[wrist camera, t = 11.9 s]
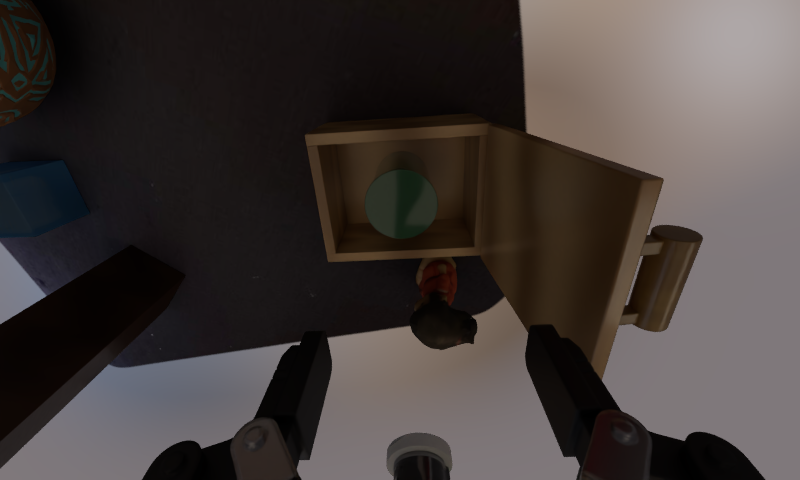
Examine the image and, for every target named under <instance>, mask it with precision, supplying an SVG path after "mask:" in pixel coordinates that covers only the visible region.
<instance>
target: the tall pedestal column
mask: <svg viewBox="0 0 800 480" xmlns="http://www.w3.org/2000/svg"><path fill="white" fill-rule="evenodd" d="M184 277H185V275H184V274H182V273H180V272H179V271H177V270H175V269H173V268H171V267H170V266H168V265H166V264H164V263H162V262H161V261H159V260H157V259H155V258H153V257H152V256H150V255H148V254H146V253H144V252H143V251H141V250H139V249H137V248H135V247H134V246H132V245H130V246H129V247H127V248H125V249H124V250H122V251H120V252H119V253H117V254H115V255H114V256H112V257H110V258H109V259H107V260H106V261H104V262H102V263H101V264H99V265H97V266H96V267H94V268H92V269H91V270H89V271H87V272H86V273H84V274H82V275H81V276H79V277H78V278H76V279H74V280H73V281H71V282H69V283H68V284H66V285H64V286H63V287H61V288H59V289H58V290H56V291H54V292H53V293H51V294H50V295H48V296H46V297H45V298H43V299H41V300H40V301H38V302H36V303H35V304H33V305H31V306H30V307H28V308H26V309H25V310H23V311H22V312H20V313H18V314H17V315H15V316H13V317H12V318H10V319H9V320H7V321H5V322H3V323H2V324H0V468H1V467H2V466H3V465H5V463H7V462H8V461H9V460H10V459H11V458H12V457H13V456H14V455H15V454H16V453H17V452H18V451H19V450H20V449H21V448H22V447H23V446H24V445H25V444H26V443H27V442H28V441H29V440H30V439H32V438H33V437H34V435H36V434H37V433H38V432H39V431H40V430H41V429H42V428H43V427H44V426H45V425H46V424H47V423H48V422H49V421H50V420H51V419H52V418H53V417H54V416H55V415H56V414H57V413H59V412H60V411H61V410H62V409H63V408H64V407H65V406H66V405H67V404H68V403H69V402H70V401H71V400H72V399H73V398H74V397H75V396H76V395H77V394H78V393H79V392H80V391H81V390H82V389H83V388H85V387H86V386H87V385H88V384H89V383H90V382H91V381H92V380H93V379H94V378H95V377H96V376H97V375H98V374H99V373H100V372H101V371H102V370H103V369H104V368H105V367H106V366H107V365H108V364H109V363H110V362H112V361H113V360H114V359H115V358H116V357H117V356H118V355H119V354H120V353H121V352H122V351H123V350H124V349H125V348H126V347H127V346H128V345H129V344H130V343H131V342H132V341H133V340H134V339H135V338H136V337H138V336H139V335H140V334H141V333H142V332H143V331H144V330H145V329H146V328H147V327H148V326H149V325H150V324H151V323H152V322H153V321H154V320H155V319H156V318H157V317H158V316H159V315H160V314H161V313H162V312H163V311H165V310H166V308H167V306H168V305H169V303H170V301H171V300H172V298H173V296H174V295H175V293H176V291H177V289H178V288H179V286H180V284H181V283H182V281H183V279H184Z"/></svg>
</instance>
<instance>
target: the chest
mask: <svg viewBox="0 0 800 480" xmlns="http://www.w3.org/2000/svg"><path fill="white" fill-rule="evenodd" d="M489 124H492V123H490V122H488V121H487V120H485V119H483V118H481V117H479V116H477V115H475V114H473V113H469V114H453V115H438V116H422V117H406V118H390V119H375V120H359V121H343V122H327V123H325V124H323V125H321V126H319V127H318V128H316V129H314V130H312V131H310V132H309V133H307V134H305V140H306V145H307V150H308V156H309V161H310V167H311V172H312V177H313V183H314V188H315V193H316V199H317V204H318V210H319V215H320V220H321V226H322V231H323V237H324V242H325V247H326V253H327V258H328V262H341V261H363V260H385V259H407V258H430V257H452V256H474V255H481V246H482V229H483V212H484V195H485V178H486V160H487V143H488V126H489ZM398 151H407V152H411V153H413V154H415V155H417V156H418V157H420V158H421V159H422V160H423V162H424V163H425V165H426V167H427V170H428V173H429V178H430V182H431V183H432V185H433V186H434V188H435V191H436V194H437V198H438V210H437V214H436V217H435V219H434V221H433V222H432V224H431V225H430V226H429V227H428V228H427V229H426V230H425V231H424V232H422V233H421V234H419V235H417V236H414V237H411V238H406V239H397V238H392V237H388V236H386V235H384V234H382V233H380V232H379V231H378V230H376V229H375V228H374V227H373V226H372V224H371V223H370V221H369V220H368V218H367V215H366V212H365V206H364V203H365V196H366V193H367V190H368V188H369V186H370V184H371V183H372V181H373V180H374V177H375V174H376V171H377V168H378V166H379V164H380V162H381V161H382V160H383V159H384V158H385V157H386V156H388V155H389V154H391V153H394V152H398Z"/></svg>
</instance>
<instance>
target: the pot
mask: <svg viewBox="0 0 800 480" xmlns="http://www.w3.org/2000/svg"><path fill="white" fill-rule="evenodd" d="M364 206H365V212H366V215H367V218H368V220H369V221H370V223H371V224H372V226H373V227H374V228H375V229H376V230H378V231H379V232H380V233H382V234H384V235H386V236H388V237H392V238H397V239H406V238H411V237H414V236H417V235H419V234H421V233H422V232H424V231H425V230H426V229H427V228H428V227H429V226H430V225H431V224H432V222H433V221H434V219H435V217H436V214H437V210H438V198H437V194H436V191H435V188H434V186H433V185H432V183H431V182H430V178H429V173H428V170H427V167H426V165H425V163H424V162H423V160H422V159H421V158H420V157H418V156H417V155H415V154H413V153H411V152H407V151H398V152H394V153H391V154H389V155H388V156H386V157H385V158H384V159H383V160H382V161H381V162H380V164H379V166H378V168H377V171H376V174H375V177H374V180H373V181H372V183H371V184H370V186H369V188H368V190H367V193H366V196H365V203H364Z"/></svg>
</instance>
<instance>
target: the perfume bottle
mask: <svg viewBox="0 0 800 480" xmlns="http://www.w3.org/2000/svg"><path fill="white" fill-rule="evenodd" d="M87 214H90V212H89V210H88V208H87V206H86V204H85V202H84V200H83V198H82V196H81V194H80V192H79V190H78V188H77V186H76V185H75V183H74V181H73V179H72V177H71V175H70V173H69V171H68V169H67V167H66V165H65V163H64V161H63V160H51V161H25V162H6V163H2V164H0V238H8V237H36V236H38V235H41V234H43V233H45V232H48V231H50V230H52V229H55V228H57V227H59V226H62V225H64V224H66V223H69V222H71V221H73V220H76V219H78V218H80V217H83V216H85V215H87Z"/></svg>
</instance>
